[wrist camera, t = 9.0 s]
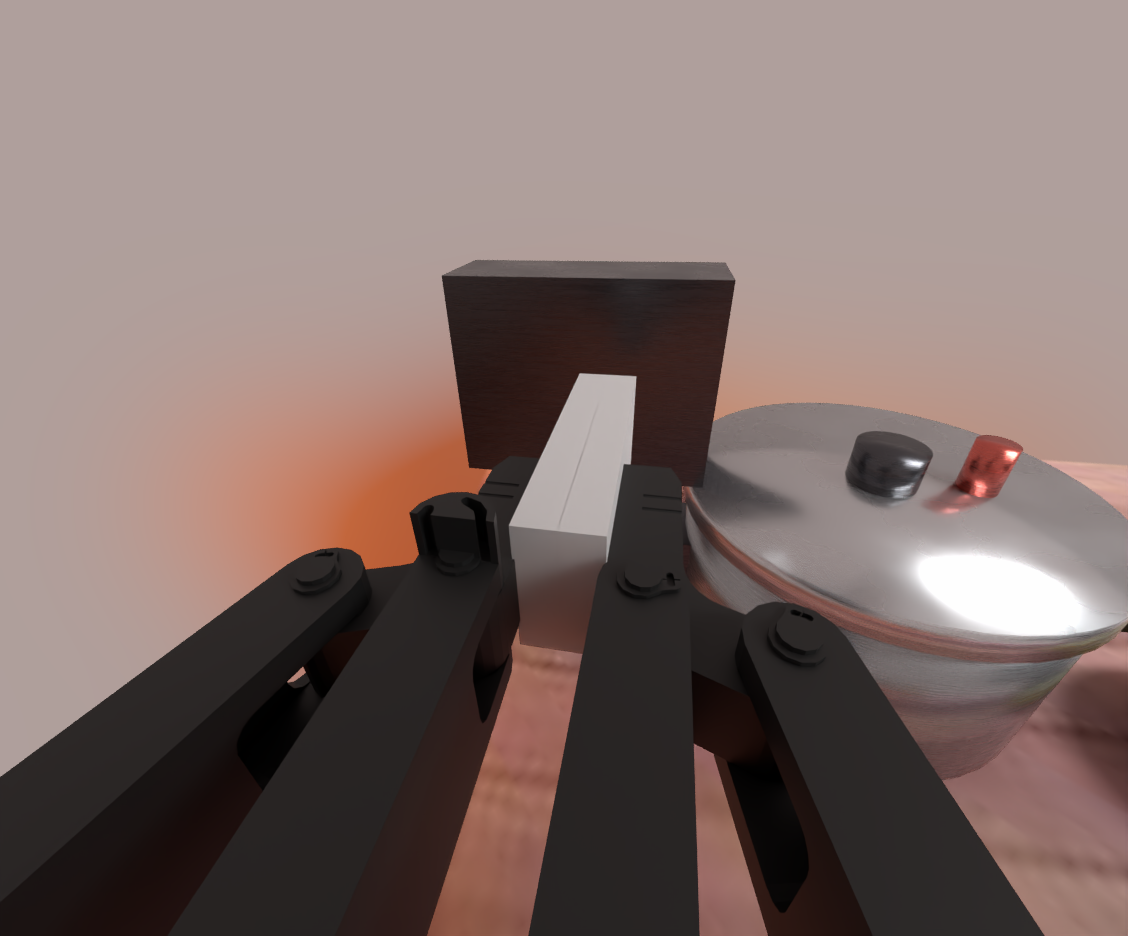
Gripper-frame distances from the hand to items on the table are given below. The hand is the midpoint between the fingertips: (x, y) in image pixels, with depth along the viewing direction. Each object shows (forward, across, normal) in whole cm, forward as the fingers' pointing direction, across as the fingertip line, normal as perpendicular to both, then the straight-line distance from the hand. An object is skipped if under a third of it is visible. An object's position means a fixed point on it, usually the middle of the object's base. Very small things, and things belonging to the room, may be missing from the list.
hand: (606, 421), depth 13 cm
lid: (+7, +6, -6) cm, 11 cm away
